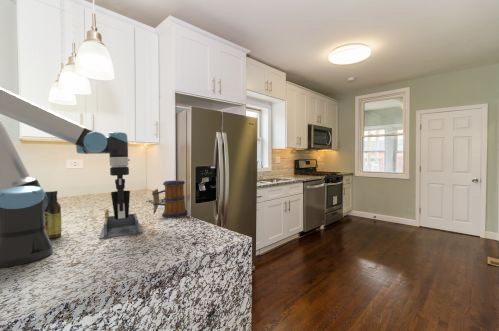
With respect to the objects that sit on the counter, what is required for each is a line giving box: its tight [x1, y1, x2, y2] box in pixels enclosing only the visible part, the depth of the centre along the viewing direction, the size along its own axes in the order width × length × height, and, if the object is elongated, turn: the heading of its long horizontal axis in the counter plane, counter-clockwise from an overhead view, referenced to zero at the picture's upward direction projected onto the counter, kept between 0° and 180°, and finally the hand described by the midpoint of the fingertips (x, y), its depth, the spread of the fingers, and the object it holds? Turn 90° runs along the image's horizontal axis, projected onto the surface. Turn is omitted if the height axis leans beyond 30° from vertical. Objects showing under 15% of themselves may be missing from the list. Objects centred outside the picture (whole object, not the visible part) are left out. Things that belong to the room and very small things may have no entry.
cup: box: [110, 190, 131, 219], centre depth 109 cm, size 8×8×12 cm
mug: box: [151, 179, 189, 219], centre depth 137 cm, size 19×14×20 cm
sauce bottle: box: [44, 189, 63, 239], centre depth 102 cm, size 7×6×20 cm
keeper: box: [99, 208, 143, 240], centre depth 109 cm, size 18×16×9 cm
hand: (121, 216), depth 109 cm, fingers closed on cup, 8 cm apart
